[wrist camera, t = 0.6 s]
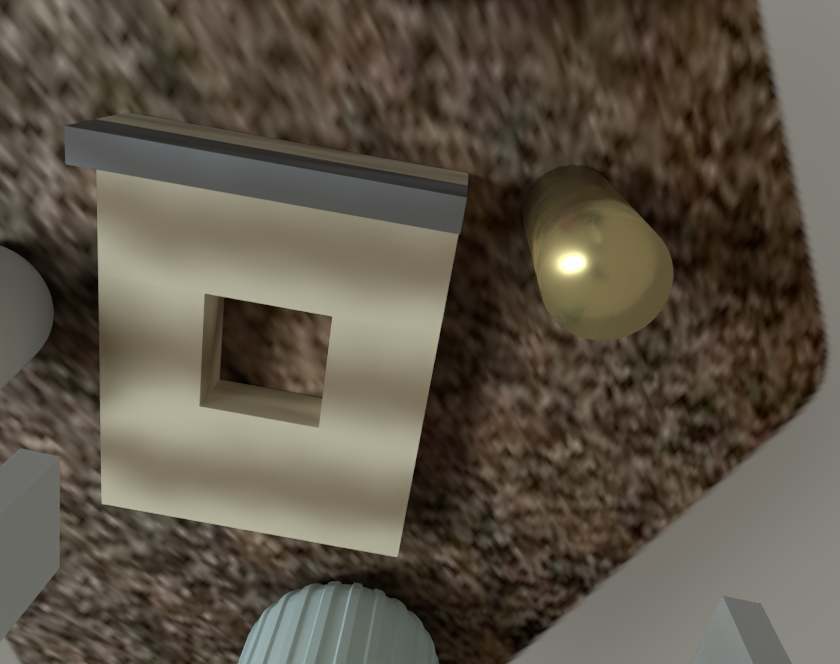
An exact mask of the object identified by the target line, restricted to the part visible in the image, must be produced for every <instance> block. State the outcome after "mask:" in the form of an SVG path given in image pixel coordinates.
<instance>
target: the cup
mask: <svg viewBox="0 0 840 664" xmlns="http://www.w3.org/2000/svg"><path fill="white" fill-rule="evenodd" d="M53 319H54V308H53V302H52V298H51V295H50V292H49V289H48V287H47V285H46V283H45V281H44V280H43V278H42V277H41V275H40V274H39V273H38V271H37V270H36V269H35V268H34V267H33V266H32V265H31V264H30V263H29V262H28V261H27V260H25V259H24V258H23V257H21V256H20V255H18V254H17V253H15V252H14V251H12V250H10V249H8V248H5V247H3V246H0V389H2V388H3V387H4V386H5V385H6V384H7V383H8V382H9V381H10V380H11V379H12V378H13V377H14V376H15V375H16V374H17V373H18V372H19V371H20V370H21V369H22V368H23V367H24V366H25V365H26V364H27V363H28V362H29V361H30V360H31V359H32V358H33V357H34V356H35V355H36V354H37V353H38V352H39V350H40V349H41V348H42V347H43V345H44V344H45V342H46V340H47V339H48V337H49V334H50V332H51V329H52V325H53Z"/></svg>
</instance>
